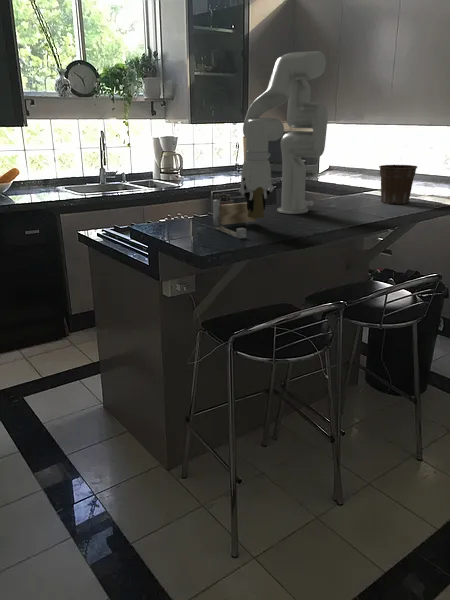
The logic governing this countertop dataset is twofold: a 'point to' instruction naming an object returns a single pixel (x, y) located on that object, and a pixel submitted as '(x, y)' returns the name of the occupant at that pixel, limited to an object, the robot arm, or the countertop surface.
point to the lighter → (223, 200)
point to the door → (235, 214)
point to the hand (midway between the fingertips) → (256, 209)
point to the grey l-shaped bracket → (239, 232)
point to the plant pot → (396, 183)
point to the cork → (257, 204)
